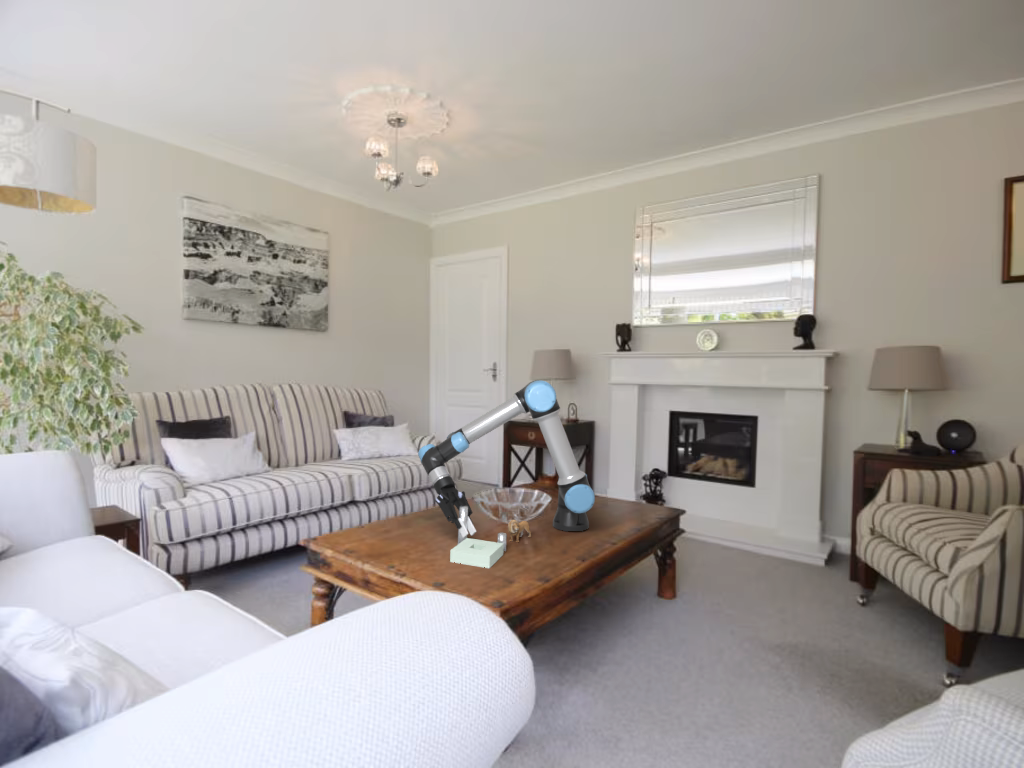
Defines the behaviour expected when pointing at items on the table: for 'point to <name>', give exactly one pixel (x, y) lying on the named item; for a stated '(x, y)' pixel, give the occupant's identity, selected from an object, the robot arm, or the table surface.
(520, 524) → the lion figurine
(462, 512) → the tall peg
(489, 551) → the socket block
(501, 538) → the short peg
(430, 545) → the table surface
